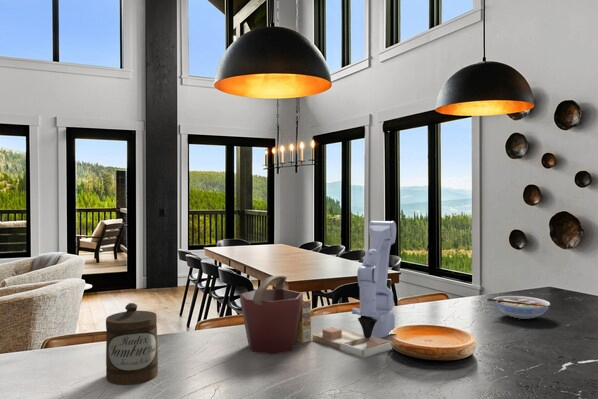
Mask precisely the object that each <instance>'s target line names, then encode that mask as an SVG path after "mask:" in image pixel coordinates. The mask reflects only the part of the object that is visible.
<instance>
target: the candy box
mask: <svg viewBox="0 0 598 399" xmlns="http://www.w3.org/2000/svg"><path fill="white" fill-rule="evenodd" d="M311 302H312V301H311V299H307V298H304V297H303V303H302V309H301V314H300V320H299V325H298V331H297V336H296V341H298V342H301V343H303V344H304V343H307V342H312V314H311V313H312V303H311Z"/></svg>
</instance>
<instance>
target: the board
mask: <svg viewBox="0 0 598 399" xmlns="http://www.w3.org/2000/svg"><path fill="white" fill-rule="evenodd" d="M338 329H340V330H342V337H339V338H335V339H329V338H326V337H323V331H322V332H318V333H313V334H311V341H315V342H317V343H320V344H323V345H325V346H329V347H331V348H334V349H337V350H339V351H341V350H340V343H345V344H348V345H350V346H353V345H357V344H360V343H364V342H367V341H369V338H365V337H364V333H360V332H357V331H354V330H352V329H347V328H344V327H340V328H338Z"/></svg>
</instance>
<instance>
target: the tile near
mask: <svg viewBox="0 0 598 399" xmlns="http://www.w3.org/2000/svg"><path fill="white" fill-rule="evenodd" d="M384 340H385V339H384ZM384 340H380V339H377V338H376V339H372V340H369V341H367V348H371V347H375V346H378V345H382V344H386V343H387V341H384Z"/></svg>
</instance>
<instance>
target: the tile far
mask: <svg viewBox="0 0 598 399" xmlns="http://www.w3.org/2000/svg"><path fill="white" fill-rule="evenodd" d="M322 332H323V337H326V338H329V339H335V338H339V337H342V330H340V329H339V328H336V327H334V326H333V327H328V328H324V329H322Z"/></svg>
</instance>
